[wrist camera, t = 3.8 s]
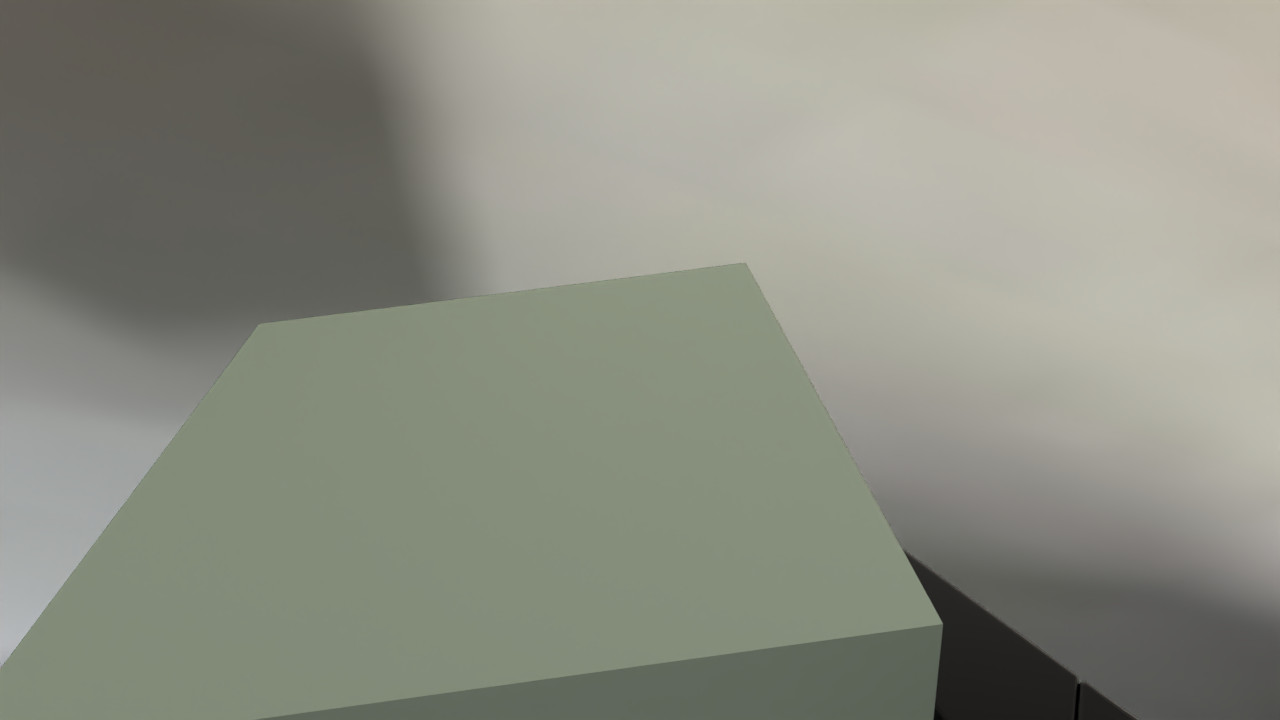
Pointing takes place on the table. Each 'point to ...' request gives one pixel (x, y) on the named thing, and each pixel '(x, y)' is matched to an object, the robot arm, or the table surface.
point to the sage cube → (498, 529)
